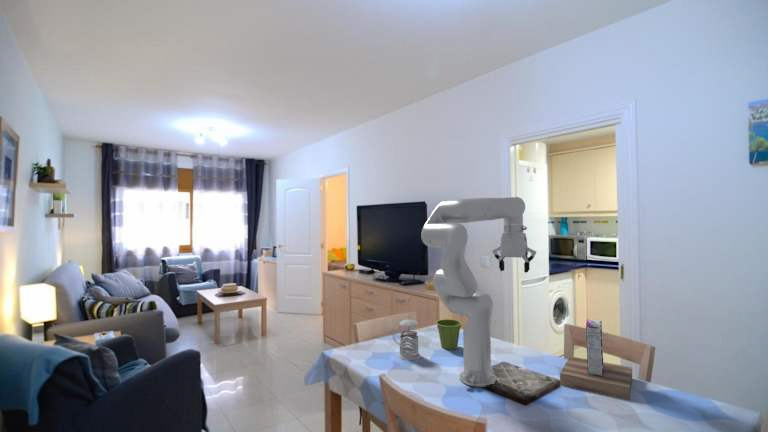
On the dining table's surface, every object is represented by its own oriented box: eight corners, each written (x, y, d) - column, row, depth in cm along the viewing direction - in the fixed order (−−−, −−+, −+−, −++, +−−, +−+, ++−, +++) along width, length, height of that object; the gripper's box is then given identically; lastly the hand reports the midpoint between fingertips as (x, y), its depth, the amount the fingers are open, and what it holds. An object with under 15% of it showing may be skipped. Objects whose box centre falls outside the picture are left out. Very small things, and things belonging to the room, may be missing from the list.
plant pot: (431, 345, 171) (430, 321, 172) (452, 341, 176) (452, 318, 177) (445, 353, 161) (445, 327, 161) (468, 349, 166) (467, 323, 166)
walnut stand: (629, 400, 116) (629, 387, 116) (560, 384, 128) (560, 373, 128) (632, 378, 133) (631, 367, 133) (570, 366, 144) (570, 356, 144)
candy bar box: (587, 363, 137) (586, 318, 137) (603, 365, 134) (602, 320, 135) (586, 374, 127) (585, 325, 127) (603, 376, 124) (602, 327, 125)
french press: (421, 359, 153) (420, 299, 154) (393, 360, 153) (392, 299, 154) (419, 351, 163) (419, 294, 164) (393, 352, 163) (392, 294, 164)
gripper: (537, 229, 150) (538, 271, 149) (495, 229, 160) (496, 269, 159) (533, 229, 144) (534, 273, 143) (489, 229, 154) (490, 271, 153)
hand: (514, 271), depth 151 cm, fingers open, 9 cm apart
